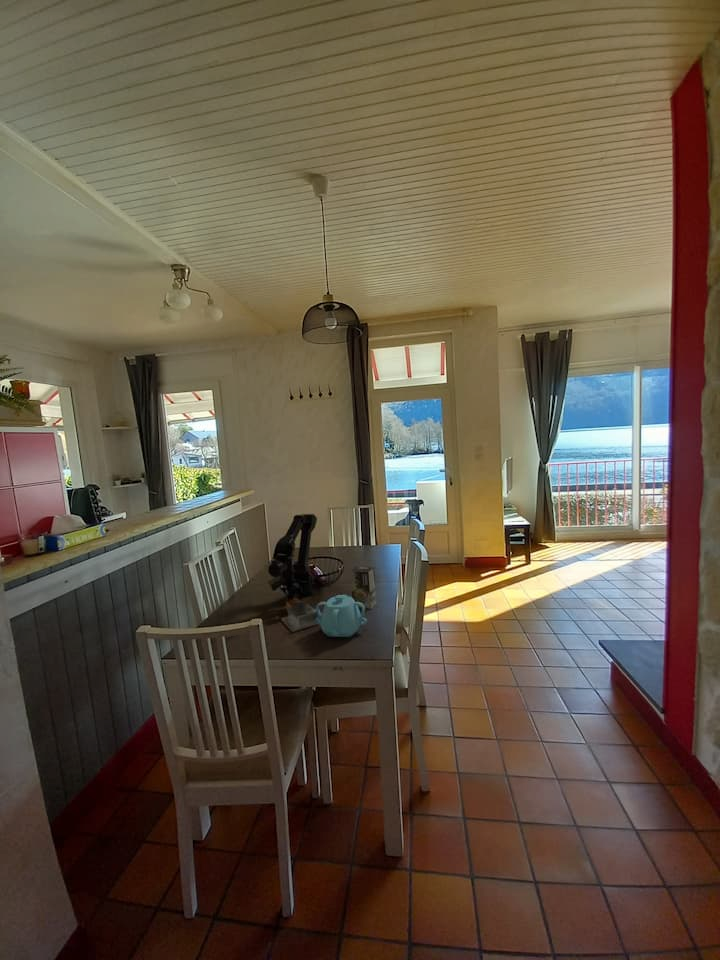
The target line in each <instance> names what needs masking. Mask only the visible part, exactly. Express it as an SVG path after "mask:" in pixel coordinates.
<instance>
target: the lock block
mask: <svg viewBox="0 0 720 960" xmlns="http://www.w3.org/2000/svg"><path fill="white" fill-rule="evenodd" d="M285 608H286V612H288V610H289V609H290V610H291V611H292V612H293V613H294V614H295V615H297V616H299V615H300V614H301V615H302V614H303V613H304V603H303V602H302V601H301V600H300V599H299V598H298V597H294V598H293V599H290V600H287V599H286V600H285Z"/></svg>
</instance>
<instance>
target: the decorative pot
mask: <svg viewBox="0 0 720 960" xmlns="http://www.w3.org/2000/svg"><path fill="white" fill-rule="evenodd" d="M357 605H359V606H361V611H360V609H359V608H360V607H358V606H357ZM320 606H324V607H323V610H322V612H321V610H320ZM315 609H316V611H317V614H318V616H319V617H318V618H317V619H316V623H317V625H320V628H321V631H322V632H323V634H324V635H326V636H327V637H330V638H333V637H334V638H343V637H344V638H350V637H352V636H353V635H354V634H355V633H357V631H358V630H359V629H360V626H365V625H366V624H368V623H367V622H368V620H367V618H365V617H364V615H365V611H366V608H365V607H364V605H363V604H362V603H360V602H355V601H354V599H353V598H352V596H349V595H347V594H338V595H335V596H333V597H330V598H329V599H328V600H327V601H320V602H318V603H317V604H316V607H315ZM321 614H322V615H321ZM318 619H320V621H319V620H318Z"/></svg>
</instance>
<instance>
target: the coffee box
mask: <svg viewBox="0 0 720 960" xmlns="http://www.w3.org/2000/svg"><path fill="white" fill-rule="evenodd" d="M349 575H350V576H349V577H350V588H351V589H350V591H351V597H352V598H353V599H354V601H355V602H360V603H362V604H363V605H364V607H365V609H371V610H372V609H373V608H375V606H376V605H377V591H376V577H375V568H374V567H368V566H354V567H353V568H352V569H351V570H350V571H349ZM357 606H358V608H361V606H359V605H357ZM361 609H362V608H361Z"/></svg>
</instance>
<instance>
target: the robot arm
mask: <svg viewBox="0 0 720 960" xmlns="http://www.w3.org/2000/svg"><path fill="white" fill-rule="evenodd" d="M317 522H318V518H317V515H315V514H314V513H302V514H296V515H294V516H293V519H292V522H291V524H290V525H289V527H288V529H287V531H286V533H285V535H284V536H282V537H281V538H279V540H278V541H277V542H276V544H275V547H274V551H273V555H272V559H273V560H271V564H270V565H268V568H267V570H268V573H269V574H268V575H270V576H271V577H273V578H272V579H269V580H268V581H267V584H268V586H269V589H270V590H271V591H273V592H274V591H276V590H277V589H279V590H281V591H282V592H283V593H284V595H285V599H286V600H290V599H293V598H295V595H297V596H298V597H299V598H301V599H302V598H306V597H310V596H313V595H314V592H313V588H312V587H313V586H312V584H313V583H314V581H315V576H314V574H313V573H312V572H311V567H310V564H309V557H310V547H311V536H312V533H313V531H314V529H315V528H316V524H317ZM299 533H300V539H299V546H298V555H297V561H296V563H294V561H293V558H294V557H295V554H294V551H295V549H296V543H295V542H296V539H297V537H298V536H299Z"/></svg>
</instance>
